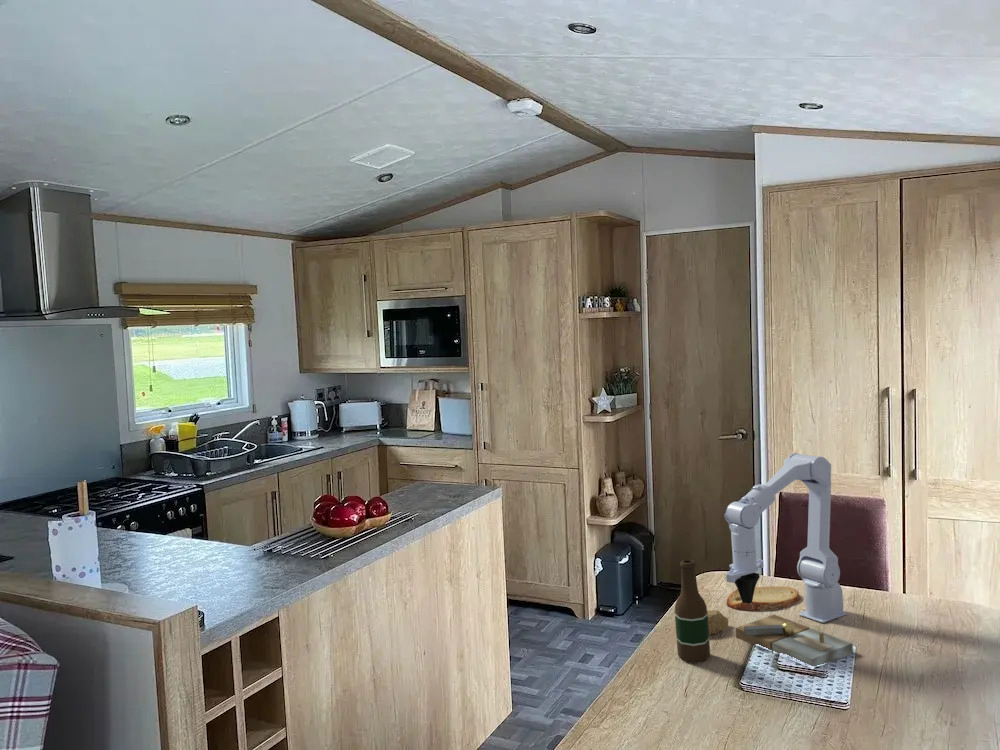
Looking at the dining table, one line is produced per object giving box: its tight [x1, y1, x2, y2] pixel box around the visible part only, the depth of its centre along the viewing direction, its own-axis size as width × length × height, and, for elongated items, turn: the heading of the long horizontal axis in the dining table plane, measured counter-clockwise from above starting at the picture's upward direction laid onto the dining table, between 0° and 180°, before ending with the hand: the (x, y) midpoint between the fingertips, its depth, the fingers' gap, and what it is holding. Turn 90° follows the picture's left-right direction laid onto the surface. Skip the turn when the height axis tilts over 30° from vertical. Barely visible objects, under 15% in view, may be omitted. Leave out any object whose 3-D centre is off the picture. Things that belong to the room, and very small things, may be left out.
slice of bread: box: [726, 585, 801, 612], centre depth 230 cm, size 18×18×4 cm
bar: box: [744, 621, 795, 636], centre depth 201 cm, size 12×3×3 cm, turn 85°
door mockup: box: [735, 614, 854, 666], centre depth 200 cm, size 14×24×5 cm, turn 29°
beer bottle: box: [674, 559, 711, 664], centre depth 197 cm, size 8×8×24 cm
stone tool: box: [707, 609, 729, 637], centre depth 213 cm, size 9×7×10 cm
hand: (747, 602), depth 204 cm, fingers closed
